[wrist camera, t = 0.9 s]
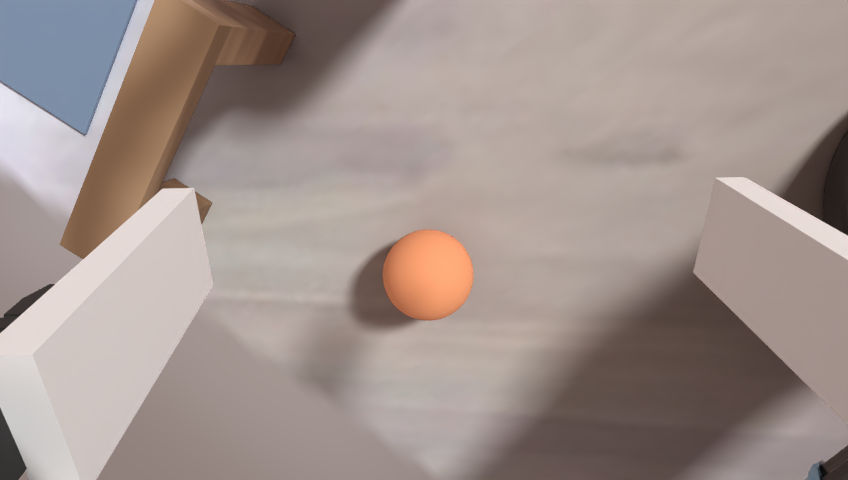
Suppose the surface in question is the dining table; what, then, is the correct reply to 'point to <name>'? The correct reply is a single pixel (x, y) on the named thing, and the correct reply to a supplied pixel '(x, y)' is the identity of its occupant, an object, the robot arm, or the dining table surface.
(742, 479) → the dining table surface
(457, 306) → the ball
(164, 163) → the bridge
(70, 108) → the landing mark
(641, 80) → the dining table surface
